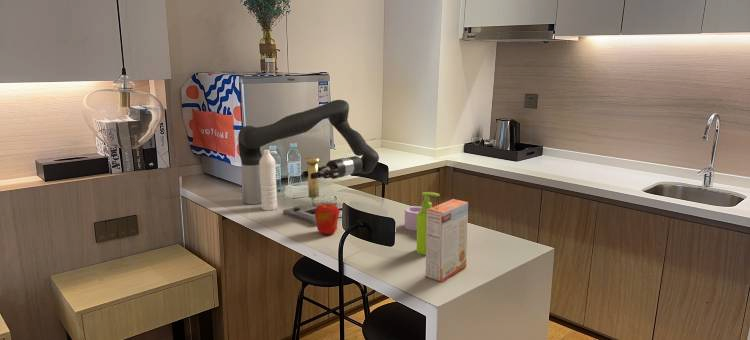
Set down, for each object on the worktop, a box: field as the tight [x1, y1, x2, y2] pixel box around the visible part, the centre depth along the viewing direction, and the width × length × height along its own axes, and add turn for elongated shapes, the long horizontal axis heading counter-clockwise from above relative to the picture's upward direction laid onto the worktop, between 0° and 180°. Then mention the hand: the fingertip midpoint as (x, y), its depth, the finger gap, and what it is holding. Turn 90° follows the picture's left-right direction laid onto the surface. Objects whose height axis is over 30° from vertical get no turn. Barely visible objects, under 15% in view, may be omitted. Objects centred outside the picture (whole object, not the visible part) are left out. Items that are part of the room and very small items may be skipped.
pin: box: [304, 156, 321, 199], centre depth 195 cm, size 6×6×15 cm
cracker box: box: [425, 198, 469, 283], centre depth 148 cm, size 14×6×21 cm, turn 139°
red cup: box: [315, 202, 340, 236], centre depth 182 cm, size 9×8×12 cm
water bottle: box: [259, 149, 278, 211], centre depth 209 cm, size 9×6×25 cm
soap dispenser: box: [416, 191, 440, 256], centre depth 164 cm, size 6×7×20 cm
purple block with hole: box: [404, 205, 421, 232], centre depth 185 cm, size 20×12×7 cm, turn 54°
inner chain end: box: [282, 205, 315, 225], centre depth 202 cm, size 19×9×2 cm, turn 47°
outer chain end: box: [297, 206, 317, 226], centre depth 197 cm, size 13×9×4 cm
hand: (307, 175), depth 193 cm, fingers closed on pin, 4 cm apart
